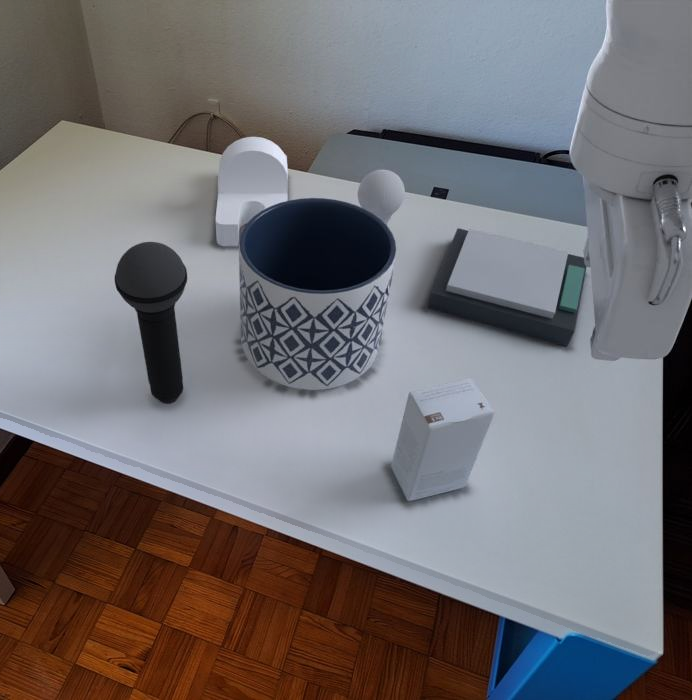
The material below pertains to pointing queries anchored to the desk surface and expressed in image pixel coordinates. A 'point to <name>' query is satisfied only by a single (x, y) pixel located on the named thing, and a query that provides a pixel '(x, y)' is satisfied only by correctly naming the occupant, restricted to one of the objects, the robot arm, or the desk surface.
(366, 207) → the light bulb
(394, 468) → the cosmetic box
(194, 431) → the desk surface
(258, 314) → the planter
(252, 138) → the white u-slot block
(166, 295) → the microphone
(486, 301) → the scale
